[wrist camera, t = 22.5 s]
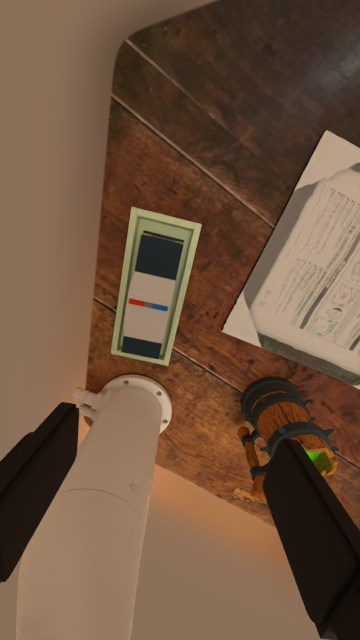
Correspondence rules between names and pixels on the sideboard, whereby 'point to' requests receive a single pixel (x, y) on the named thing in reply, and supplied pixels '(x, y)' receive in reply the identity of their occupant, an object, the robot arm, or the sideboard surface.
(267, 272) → the picture frame
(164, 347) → the shallow tray
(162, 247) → the toy car
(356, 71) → the sideboard surface
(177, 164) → the sideboard surface
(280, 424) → the mug
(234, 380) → the sideboard surface
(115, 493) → the robot arm
